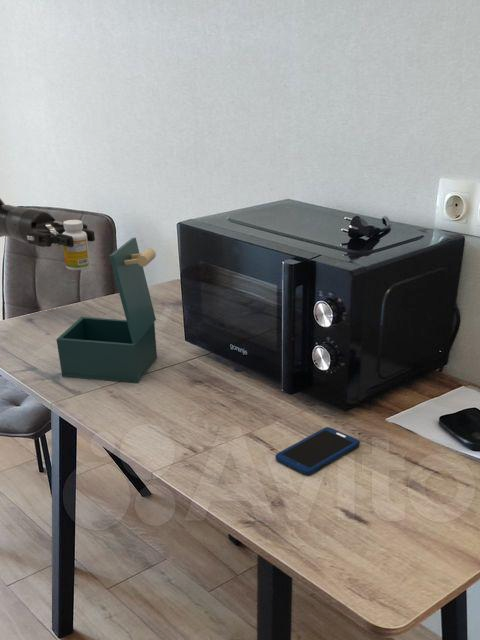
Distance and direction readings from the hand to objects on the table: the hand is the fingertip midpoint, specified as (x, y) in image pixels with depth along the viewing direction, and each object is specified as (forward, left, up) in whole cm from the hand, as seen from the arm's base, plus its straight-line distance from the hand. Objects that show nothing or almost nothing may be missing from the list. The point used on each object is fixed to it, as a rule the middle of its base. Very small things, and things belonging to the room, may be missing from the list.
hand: (82, 239), depth 152 cm
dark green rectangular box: (+12, -22, -19) cm, 31 cm away
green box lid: (+18, -22, -3) cm, 28 cm away
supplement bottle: (-2, +1, -7) cm, 7 cm away
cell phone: (+57, -48, -19) cm, 77 cm away
